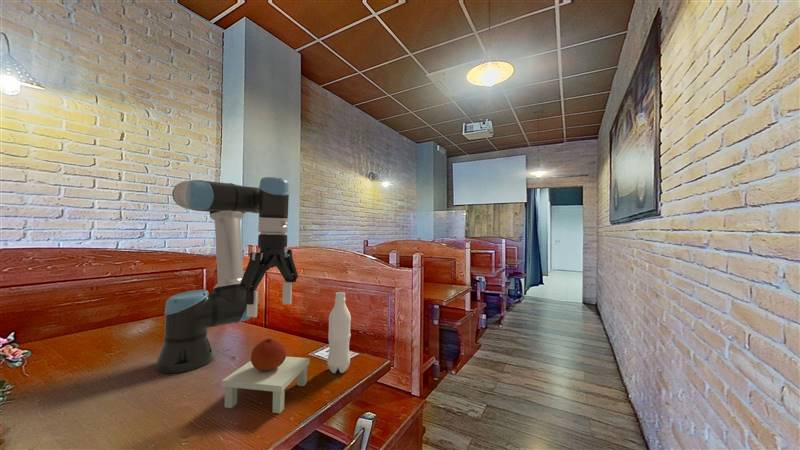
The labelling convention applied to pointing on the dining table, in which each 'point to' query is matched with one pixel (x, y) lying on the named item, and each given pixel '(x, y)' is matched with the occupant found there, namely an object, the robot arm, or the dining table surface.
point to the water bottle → (339, 335)
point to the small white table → (266, 380)
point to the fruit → (268, 355)
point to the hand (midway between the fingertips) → (270, 309)
